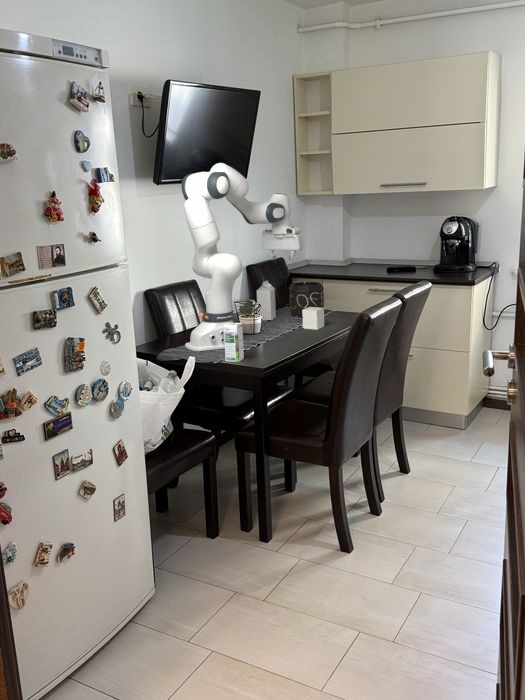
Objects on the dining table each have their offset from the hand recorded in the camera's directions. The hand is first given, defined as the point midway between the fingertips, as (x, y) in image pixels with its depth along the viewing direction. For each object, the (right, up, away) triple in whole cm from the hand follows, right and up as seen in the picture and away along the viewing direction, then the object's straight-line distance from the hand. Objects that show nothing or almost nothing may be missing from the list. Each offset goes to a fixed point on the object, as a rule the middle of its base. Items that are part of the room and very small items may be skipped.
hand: (282, 259), depth 314 cm
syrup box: (-20, -46, -50) cm, 71 cm away
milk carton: (-7, -27, +23) cm, 36 cm away
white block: (+14, -31, 0) cm, 35 cm away
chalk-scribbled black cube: (+14, -24, +30) cm, 41 cm away
